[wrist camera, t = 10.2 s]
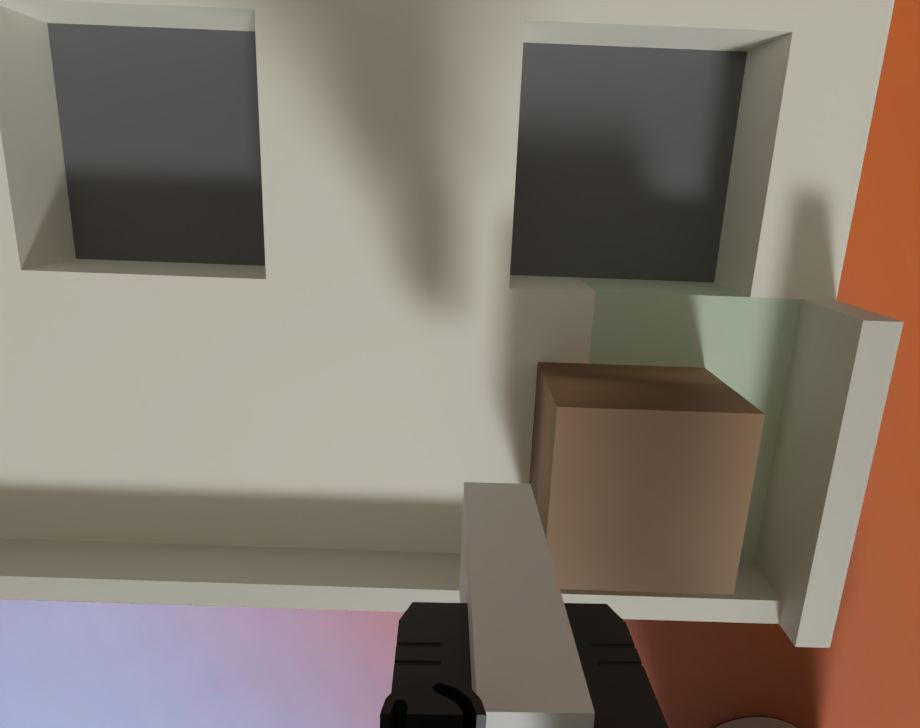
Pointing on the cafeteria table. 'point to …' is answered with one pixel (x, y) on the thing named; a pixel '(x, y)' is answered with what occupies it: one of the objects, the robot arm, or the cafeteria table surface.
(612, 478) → the block
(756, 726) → the coffee cup
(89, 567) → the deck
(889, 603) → the cafeteria table surface
